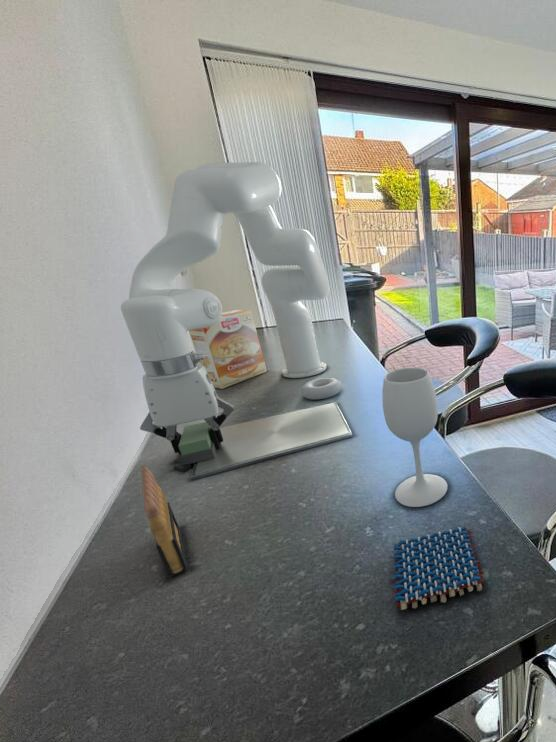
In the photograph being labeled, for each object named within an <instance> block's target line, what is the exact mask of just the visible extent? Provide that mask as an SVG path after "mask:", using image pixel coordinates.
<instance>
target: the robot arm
mask: <svg viewBox="0 0 556 742" xmlns="http://www.w3.org/2000/svg"><path fill="white" fill-rule="evenodd" d="M172 190H173V191H172V198H171V204H170V211H169V216H168V221H167V222H168V223H167V230H166V233H165V235H164V236H163V237H162V238H161V239H160V240H159V241H158V242H157V243H155V244H154V245H153V246H152V247H151V249H150V250H149V251H147V253H146V254H145V255H144V256H143V257H142V258H141V259H140V261H139V262H138V263H137V264H136V267H135V268H134V271H133V273H132V276H131V282H130V288H129V294H128V295H129V296H128V299H126V300H124V301H123V302H122V303H121V304H120V311H121V314H122V316H123V320H124V322H125V324H126V328H127V330H128V332H129V334H130V337H131V339H132V342H133V346H134V348H135V350H136V353H137V355H138V358H139V360H140V363H141V365H142V368H143V370H144V373H145V374H143V375H142V386H143V392H144V397H145V401H146V405H147V409H148V413H147V415H146V417H145V418H144V420H143V421H142V423H141V424H140V426H139V430H141V431H143V432H147V433H150V434H152V433H153V434H154V435H156V436H159V437H161V438H164V439H166V440H167V441H168V442H169V441H170V444H171V446H172V449H173V452H174V454H178V455H179V457H180V456H181V452H180V449H179V447H178V445H179V442H180V439H181V436H182V433H180V432H178V431H177V430H178V426H179V425H182V424H183V425H184V424H187V423H191V422H196V421H200V420H201V421H202V420H204V422H207V424H208V425H209V426H210V435H211V438H212V441H213V442H214V445H215V448H216V449H219V448H220V443H221V442H223V437H222V434H221V431H220V428H221V426H222V424H223V423H224V422H225V421H226V420H227V418H228V417H229V416H230V415H232V413H233V412H234V411H235V406H234V405H233V404H231V403H230V402H228V401H226V400H224V399H223V398H221V397H219V396H218V394H217V391H216V388H215V387H214V386H213V384H212V381H211V379H210V377H209V375H208V373H207V372H206V370H205V368H204V367H203V365H200V364H199V362H201V361H204V360H205V357H204V354H196V352H195V350H194V349H193V348H192V345H191V341H190V339H189V336H188V332H189V330H193V329H199V328H205V327H209V326H211V325H213V324H215V323H216V322H217V321H218V320H219V319H220V317H221V315H222V313H223V304H222V302H221V300H220V299H219V298H218V297H217V295H216V294H214V293H213V292H211V291H209V290H205V289H201V288H170V286H171V284H172V283H173V281H174V280H175V279H176V277H178V276H179V275H180V274H181V273H182V272H184V271H185V270H187V269H189V268H191V267H193V266H195V265H197V264H199V263H202V262H203V261H206V260H207V259H209V258H211V257H213V256H214V255H216V254H217V253H218V252H219V251H220V248H221V242H222V232H223V223H224V216H225V215H227V214H234V216H235V217H236V218H237V219H236V220H238V222H239V224H240V226H241V228H242V230H243V231H242V232H243V234H244V236H245V237H246V240H247V242H248V244H249V246H250V248H251V250H252V252H253V254H254V256H255V258H256V260H257V261H258V262H259V263H260V264H262V265H264V266H270V267H271V266H272V268H269V269H267V270H265V271H264V272H263V274H262V276H261V285H262V286H261V287H262V289H263V291H264V294H265V296H266V298H267V300H268V303H269V305H270V307H271V311H272V315H273V317H274V320H275V321H274V323H275V326H276V330H277V334H278V338H279V342H280V346H281V350H282V355H283V359H284V363H285V367H284V368H283V369H282V370H281V374H282V376H283V377H285V378H288V379H300V378H301V379H302V378H307V377H312V376H315V375H319V374H321V373H322V372H325V371H326V370H327V367H328V366H327V364H326V363H325V362H323V361H321V359H320V354H319V349H318V346H317V340H316V336H315V331H314V325H313V322H312V316H311V313H310V311H309V309H308V308H307V307H306V306H305V305H304V304H303V303H302V301H318V300H324V299H326V298H327V297H328V296H329V294H330V290H331V286H330V281H329V277H328V274H327V271H326V267H325V265H324V261H323V258H322V255H321V253H320V250H319V247H318V244H317V242H316V240H315V238H314V236H313V235H312V234H311V233H310V231H308V230H307V229H303V228H299V227H293V228H292V227H291V228H289V227H287V228H285V227H284V228H283V227H282V226H281V225H280V223H279V222H278V219H277V216H276V213H275V211H274V209H273V208H272V206H271V205H273V204H275V203H277V201H278V200H279V199H280V196H281V193H282V185H281V180H280V178H279V176H278V174H277V172H276V170H275V169H273V168H272V166H270V165H269V164H267V163H264V162H260V161H259V162H258V161H257V162H255V161H252V162H250V161H249V162H248V161H244V162H209V163H205V164H200V165H199V166H197V167H196V168H194V169H186V170H183V171H181V172H180V173H179V174H178V175H177V176H176V178H175V180H174V185H173V189H172ZM219 408H220V409H222V411H221V412H220V413H219Z"/></svg>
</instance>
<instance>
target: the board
mask: <svg viewBox="0 0 556 742" xmlns="http://www.w3.org/2000/svg"><path fill="white" fill-rule="evenodd" d="M219 428H220V431H221V434H222V437H223V442H221V443H220V448H219V449H216V452H215V457H214V458H211V459H207V460H203V461H199V462H195V463H193V467H192V472H191V475H190V478H191V480H193V481H194V480H197V479H200V478H205V477H207V476H212V475H216V474H219V473H223V472H226V471H230V470H233V469H237V468H241V467H245V466H249V465H252V464H256V463H260V462H263V461H268V460H271V459H275V458H279V457H282V456H286V455H290V454H293V453H296V452H301V451H305V450H309V449H311V448H315V447H319V446H323V445H327V444H330V443H334V442H337V441H341V440H346V439H348V438H353V437H354V436H353V432H352V430H351V428H350V427H349V424H348V422H347V420H346V419H345V416H344V414H343V412H342V410H341V409H340V407H339V404H338V402H337V401H332V402H328V403H323V404H319V405H314V406H310V407H306V408H302V409H297V410H293V411H288V412H284V413H279V414H275V415H271V416H266V417H261V418H257V419H253V420H249V421H244V422H239V423H235V424H231V425H227V426H226V425H225V426H222V427H221V426H220V427H219Z"/></svg>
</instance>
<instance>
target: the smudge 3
mask: <svg viewBox="0 0 556 742" xmlns="http://www.w3.org/2000/svg"><path fill="white" fill-rule="evenodd" d="M173 469H174V470H175V471H179V472H182V473H183V472H184V473H185V472H187V471H189V470H191V469H193V467H192V465H191V464H187V465H183V464H182V462H180V463H178V464H177V463H175V465H173Z"/></svg>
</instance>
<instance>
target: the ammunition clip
mask: <svg viewBox="0 0 556 742" xmlns="http://www.w3.org/2000/svg"><path fill="white" fill-rule="evenodd" d="M141 481H142V492H143V505H144V506H143V507H144V511H145V514H146V516H147V520H148V522H149V527H150V532H151V533H152V536H153V538H154V540H155V544H156V545H155V546H156V549H157V552H158V553H159V556H160V559H161V560H162V563H163V565H164V567H165V569H166V571H167V574H168V576H169V578H173V577H175V576H177V575H179V574H181V573H183V572H186V571H188V570H189V569H188V563H187V559H186V553H185V548H184V547H185V546H184V544H183V537H182V532H181V529H180V526H179V523H178V521H177V519H176V517H175V514H174V512H173V508H172V506H171V505H170V504H171V503H170V502H168V501H167V498H166V497H165V494H164V492H163V489H162V488H161V487H160V486H159V483H158V482H157V481H156V478H155V476H154V475H153V473H152V471H151V470H150V469H148V467H146V466H145V465H143V466H142V468H141Z"/></svg>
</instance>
